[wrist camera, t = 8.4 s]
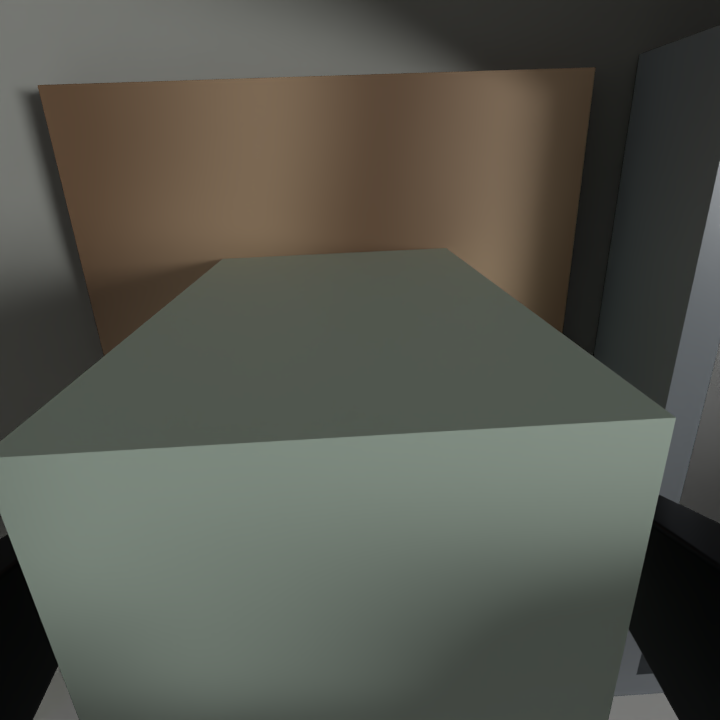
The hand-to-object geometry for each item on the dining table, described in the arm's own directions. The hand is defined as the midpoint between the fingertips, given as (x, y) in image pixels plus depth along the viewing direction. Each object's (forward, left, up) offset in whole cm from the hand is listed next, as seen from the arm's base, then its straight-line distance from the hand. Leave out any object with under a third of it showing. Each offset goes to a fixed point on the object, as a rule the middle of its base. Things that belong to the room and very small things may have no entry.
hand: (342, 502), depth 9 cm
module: (0, 0, -4) cm, 4 cm away
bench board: (0, 0, -4) cm, 4 cm away
